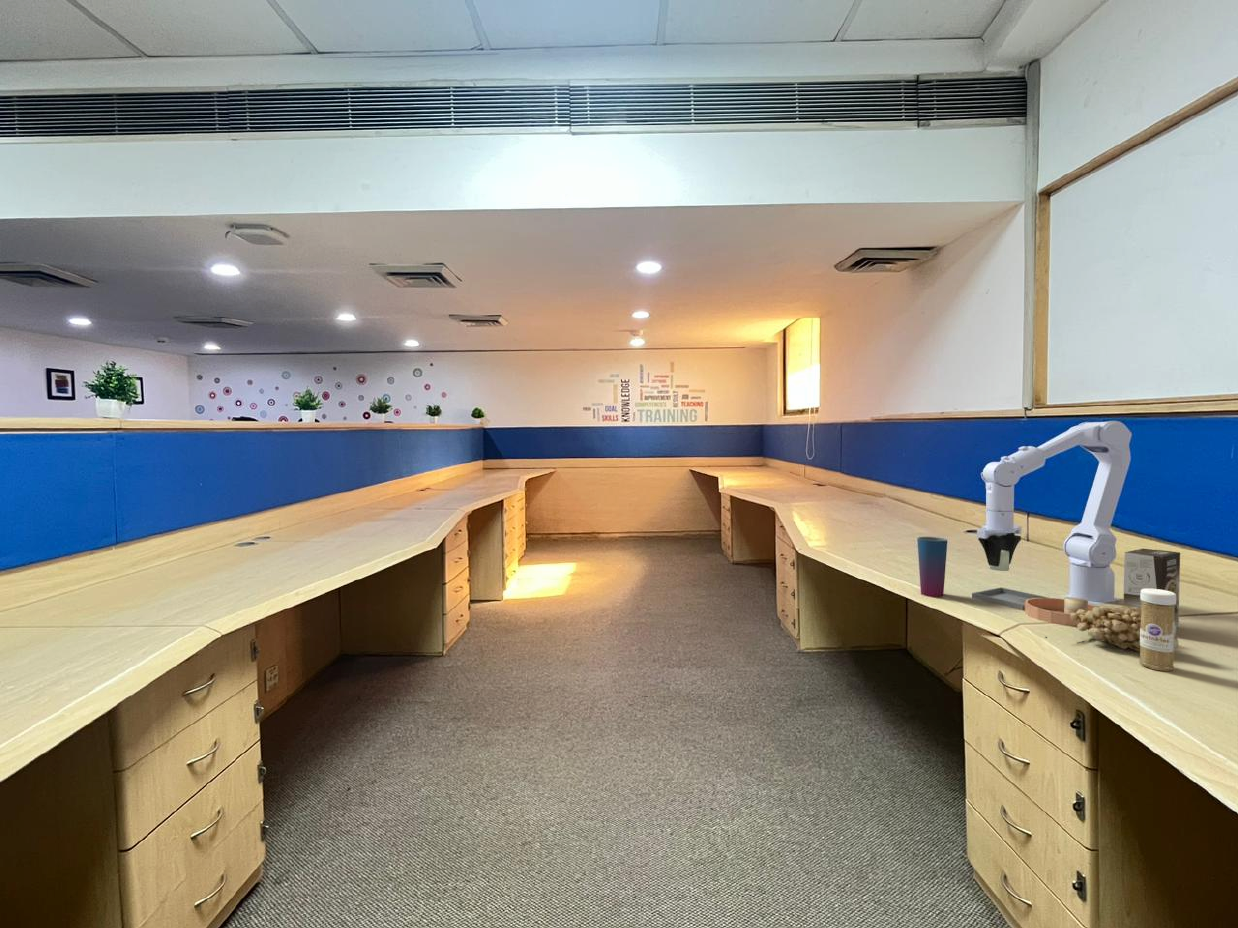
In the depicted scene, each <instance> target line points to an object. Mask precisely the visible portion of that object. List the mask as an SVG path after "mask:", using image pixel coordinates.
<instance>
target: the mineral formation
mask: <svg viewBox="0 0 1238 928" xmlns="http://www.w3.org/2000/svg"><path fill="white" fill-rule="evenodd" d="M1070 618H1071V619H1072V620H1079V621H1080V622H1081V623H1079V624H1077V626H1076V627H1077V629H1078V631H1081V632H1085V631H1087V634H1088V636H1089V637H1090V638H1093V640H1099V641H1102V642H1104V643H1109V644H1111V645H1117V646H1118V648H1120V649H1121V650H1122V649H1123V650H1125V649H1128V648H1130V649H1132V650H1134V651H1137V652H1140V628H1141V611H1140V610H1139V609H1138V608H1136V607H1133V608H1129V607H1127V606H1123V605H1122V606H1108V607H1107V606H1106V605H1105V606H1104V605H1103V606H1099V607H1098V606H1095V607H1094V608H1093V610H1092V611H1090V610H1088V611H1086V610H1082V609H1079V610H1078V611H1077V612H1076V613H1071V614H1070ZM1177 630H1178V628H1176V626H1175V632H1174V649H1176V648H1177V646H1178V645H1179V644H1180V642H1179V639H1178V638H1177V637H1176V634H1177Z"/></svg>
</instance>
